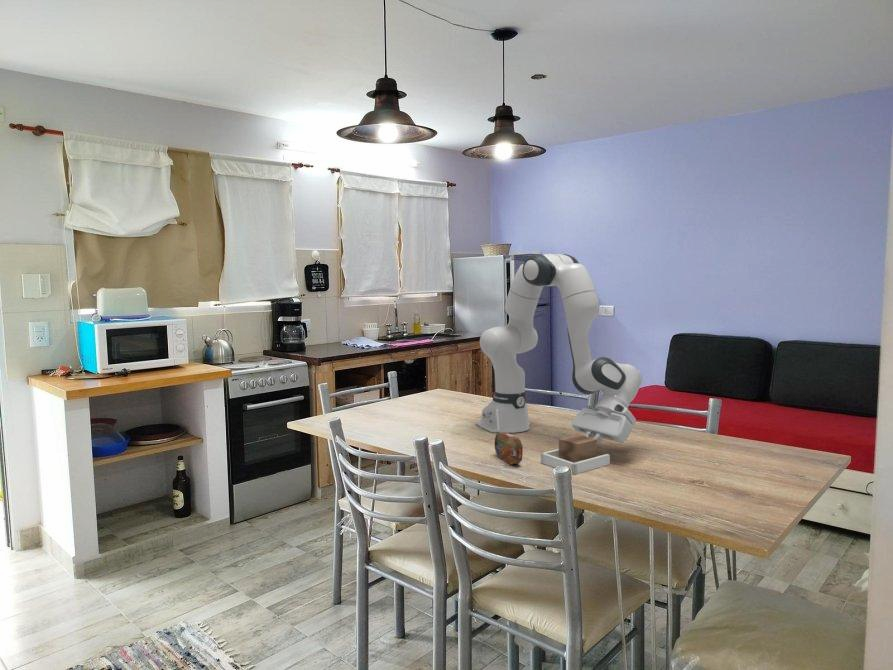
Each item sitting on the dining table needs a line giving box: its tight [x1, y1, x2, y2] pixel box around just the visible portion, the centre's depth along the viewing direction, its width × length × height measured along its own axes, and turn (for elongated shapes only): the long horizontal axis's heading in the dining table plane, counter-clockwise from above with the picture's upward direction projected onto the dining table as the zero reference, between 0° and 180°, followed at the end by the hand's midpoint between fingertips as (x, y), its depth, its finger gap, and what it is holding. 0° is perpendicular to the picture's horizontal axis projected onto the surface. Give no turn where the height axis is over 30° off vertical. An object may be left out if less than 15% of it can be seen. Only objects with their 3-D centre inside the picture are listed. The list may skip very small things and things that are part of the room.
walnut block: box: [558, 434, 598, 463], centre depth 182 cm, size 8×8×8 cm
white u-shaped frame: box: [540, 448, 611, 475], centre depth 182 cm, size 14×15×3 cm
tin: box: [494, 432, 524, 465], centre depth 186 cm, size 15×3×8 cm, turn 21°
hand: (588, 446), depth 185 cm, fingers closed
